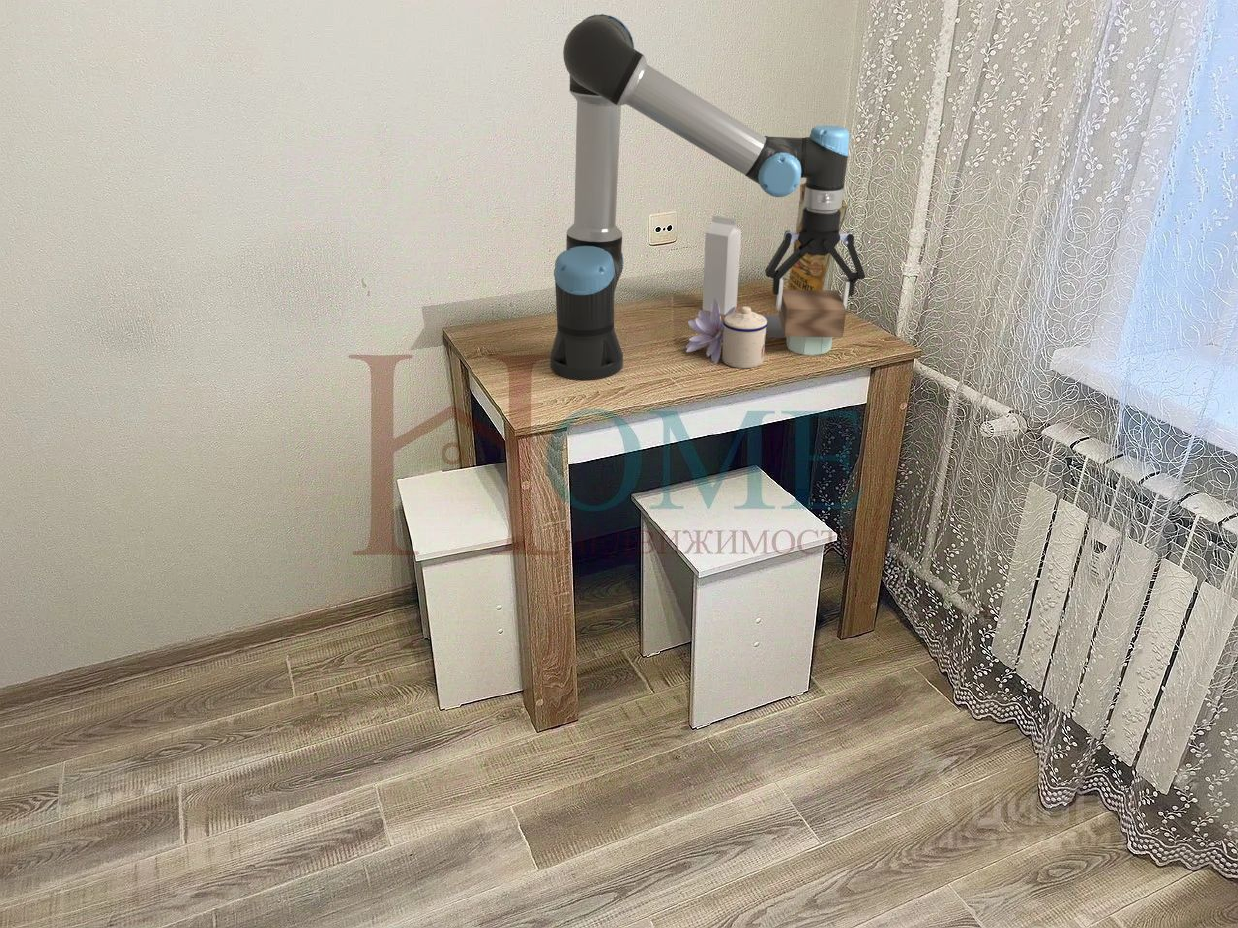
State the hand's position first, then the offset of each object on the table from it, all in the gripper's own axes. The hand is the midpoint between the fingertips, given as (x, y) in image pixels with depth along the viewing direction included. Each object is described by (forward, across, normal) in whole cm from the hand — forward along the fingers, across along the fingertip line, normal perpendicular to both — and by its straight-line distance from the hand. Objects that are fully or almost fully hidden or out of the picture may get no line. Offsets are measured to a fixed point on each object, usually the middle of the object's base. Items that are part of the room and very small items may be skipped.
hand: (810, 309), depth 196 cm
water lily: (+9, -21, -3) cm, 23 cm away
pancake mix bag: (+9, +3, +23) cm, 25 cm away
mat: (+9, -8, +12) cm, 17 cm away
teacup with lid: (+9, -15, -6) cm, 18 cm away
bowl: (+9, 0, 0) cm, 9 cm away
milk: (+9, -18, +23) cm, 30 cm away
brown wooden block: (+4, 0, 0) cm, 4 cm away
